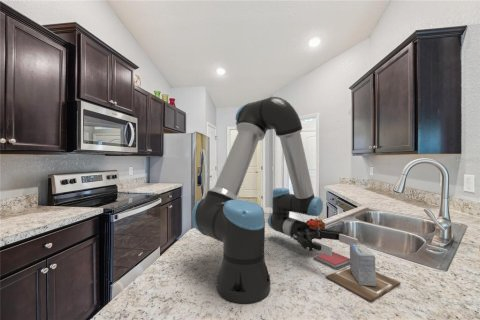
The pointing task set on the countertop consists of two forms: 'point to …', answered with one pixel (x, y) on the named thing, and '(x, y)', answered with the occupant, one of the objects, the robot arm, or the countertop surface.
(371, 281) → the medicine box
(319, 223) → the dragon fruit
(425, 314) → the countertop surface
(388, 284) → the cutting board
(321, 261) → the ink pad
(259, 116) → the robot arm
